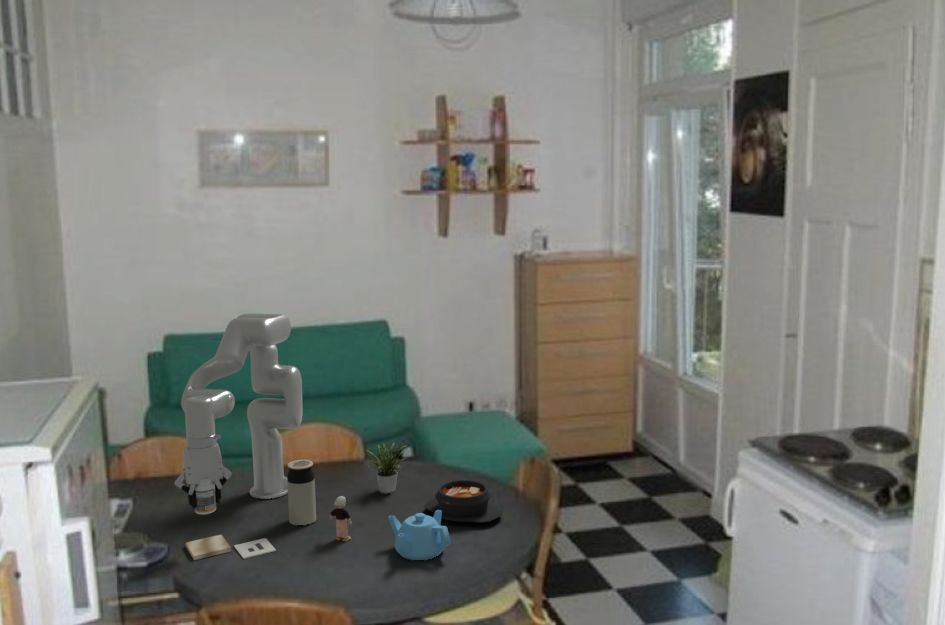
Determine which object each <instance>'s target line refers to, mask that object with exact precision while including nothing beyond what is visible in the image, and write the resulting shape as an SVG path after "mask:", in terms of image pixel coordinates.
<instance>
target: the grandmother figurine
mask: <svg viewBox="0 0 945 625" xmlns="http://www.w3.org/2000/svg"><path fill="white" fill-rule="evenodd" d="M346 500H347V499H346V497H345V496H344V495H339V496H338V497H337V498H336V499H335V500H334V502H333V505H334V506H335V507H337V508H334V509H333V510H332V511H331V512H330V514H329V519H330V520H333V519H334V517H335V519H336V522H335V529H336V537H335V540H336V539H337V540H336V541H340V540H339V539H341V538H343V539H341V541H342V540H343V541H346V540H349V539H351V540H352V537H351V536H350V535H349V532H348V531H349V530H348V526H351V525H352V524H353V522H352V519H351V516H350V513H349V512H348V510H347V509H345V508H346V502H347V501H346ZM343 541H342V542H343ZM346 542H347V541H346Z"/></svg>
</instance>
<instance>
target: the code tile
mask: <svg viewBox="0 0 945 625" xmlns="http://www.w3.org/2000/svg"><path fill="white" fill-rule="evenodd" d="M233 547H234V548H235V550H236V551H237V552H238V554H239V555H240V556H241V558H242V559H243V560H244V559H245V560H246V559H250V558H253V557H258V556H261V555H267V554H270V553H274V552H276V551H277V550H276V548H275V547H274V546H273V545H272V543H271V542H270V541H269V540H268V538H266V537H264V538H260V539H256V540H252V541H248V542H247V541H246V542H243V543H239V544H238V543H237V544H235V545H233Z"/></svg>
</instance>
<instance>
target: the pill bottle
mask: <svg viewBox="0 0 945 625" xmlns="http://www.w3.org/2000/svg"><path fill="white" fill-rule="evenodd" d="M193 492H194V494H195V500H196V508H194V512H195V513H196V514H197V515H209V514H212V513H214V512H215V511H216V510H217V503H216V492H215V483H214V481H211V480H210V479H204V480H201V483H199V484H196V485H195V488H194V491H193Z"/></svg>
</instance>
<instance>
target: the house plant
mask: <svg viewBox="0 0 945 625" xmlns="http://www.w3.org/2000/svg"><path fill="white" fill-rule="evenodd" d="M382 443H383V444H382V445H383V448H384V449H383V448H382V446H381V445H380V444H377V448H378V451H379V452H378V453H379V457H378V456H377V455H376V454H375V453H373V452H372V451H370V450H366V449H365V451H366V452H369V453H370V454H371V455H372V456H374V458H375V459H376V460H377V461H378V462H377V461H374V460H373V459H370V461H371V462H372V463H373V464H370V465H369V467H371V468H374V469H376V470H377V472H376V474H375V475H376V479H377V480H376V481H377V485H378V490H380V491H381V492H391V491H394V490H395V489H396V488H397V481H398V480H397V479H398V474H399V472H398V471H399V470H398V468H399V469H400V468H401V465H400V463H401V462H403V460H406V459H407V457H404V458H402V459H399V457H400V456H401V455H402V454H404V453H405V452H406V453H407V450H405V451H401V452H400V450H402V449H403V448H405V447H408V446H409V445H408V444H406V445H402V446H401V447H399V448H398V449H396V451H395V453H394V450H395V444H396V442H393V443H392V444H391V447H390V450H389V449H388V447H387V446H386V443H385V442H382ZM395 464H396V465H395ZM380 491H379V492H380ZM395 491H396V490H395Z"/></svg>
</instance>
